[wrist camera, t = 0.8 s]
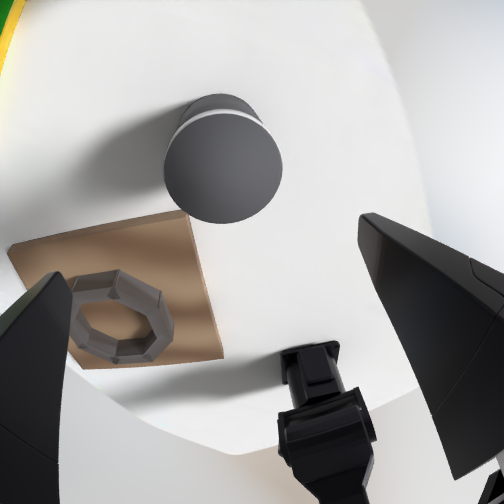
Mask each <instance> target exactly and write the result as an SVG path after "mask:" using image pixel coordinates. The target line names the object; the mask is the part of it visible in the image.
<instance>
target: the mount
mask: <svg viewBox="0 0 504 504" xmlns="http://www.w3.org/2000/svg"><path fill="white" fill-rule="evenodd" d="M7 255H8V257H9V258H10V260H11V262H12V264H13V266H14V268H15V269H16V271H17V273H18V275H19V277H20V278H21V280H22V282H23V283H24V285H25V287H26V289H27V290H29V289H30V288H31V287H32V286H33V285H35V284H36V283H37V282H38V281H39V280H40V279H41V278H43V277H44V276H45V275H46V274H47V273H50V272H54V271H59V272H61V273H62V275H63V277H64V278H65V280H66V282H67V284H68V285H69V287H70V289H71V291H72V294H73V301H72V311H71V322H70V334H69V343H68V351H69V352H70V354H71V355H72V356H73V357H74V359H75V360H76V361H77V363H78V364H79V365H80V366H81V368H82V369H112V368H131V367H146V366H159V365H170V364H181V363H191V362H200V361H208V360H217V359H224V354H223V347H222V343H221V340H220V336H219V333H218V329H217V326H216V322H215V318H214V315H213V311H212V307H211V303H210V300H209V296H208V292H207V288H206V284H205V280H204V277H203V273H202V269H201V265H200V261H199V257H198V253H197V248H196V244H195V240H194V236H193V232H192V228H191V223H190V219H189V215H188V214H187V213H186V212H184V211H183V210H177V211H171V212H166V213H160V214H155V215H149V216H144V217H138V218H133V219H128V220H123V221H118V222H113V223H108V224H103V225H98V226H93V227H88V228H83V229H79V230H74V231H70V232H65V233H60V234H56V235H52V236H47V237H43V238H39V239H34V240H30V241H26V242H22V243H18V244H14V245H12V246H11V248H10V249H9V250H8V252H7Z"/></svg>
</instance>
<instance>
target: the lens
mask: <svg viewBox="0 0 504 504" xmlns="http://www.w3.org/2000/svg"><path fill="white" fill-rule="evenodd" d="M282 165H283V163H282V156H281V152H280V149H279V146H278V144H277V142H276V140H275V139H274V137H273V136H272V134H271V133H270V131H269V130H268V129H267V128H266V127H265V125H263V123H262V122H261V120H260V119H259V117H258V116H257V115H256V113H255V112H254V110H253V109H252V108H251V107H250V106H249V105H248V104H247V103H246V102H245V101H243V100H242V99H240V98H238V97H236V96H232V95H228V94H212V95H208V96H205V97H202V98H200V99H199V100H197V101H195V102H194V103H193V104H192V105H191V106H189V108H188V109H187V110H186V111H185V113H184V114H183V116H182V118H181V121H180V123H179V125H178V127H177V130H176V132H175V134H174V136H173V138H172V139H171V141H170V144H169V146H168V148H167V151H166V154H165V157H164V163H163V175H164V181H165V184H166V187H167V190H168V192H169V194H170V196H171V198H172V199H173V201H174V202H175V203H176V204H177V205H178V206H179V207H180V208H181V209H182V210H183V211H184V212H186V213H187V214H189V215H190V216H192V217H194V218H196V219H199V220H201V221H205V222H209V223H215V224H227V223H234V222H239V221H242V220H245V219H247V218H249V217H251V216H253V215H255V214H256V213H258V212H259V211H260V210H262V209H263V208H264V207H265V206H266V205H267V204H268V203H269V202H270V201H271V199H272V198H273V197H274V195H275V193H276V192H277V189H278V187H279V185H280V181H281V177H282Z"/></svg>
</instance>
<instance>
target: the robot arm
mask: <svg viewBox="0 0 504 504" xmlns="http://www.w3.org/2000/svg"><path fill="white" fill-rule="evenodd" d="M358 246H359V249H360V251H361V254H362V256H363V259H364V261H365V264H366V267H367V269H368V272H369V274H370V277H371V280H372V283H373V285H374V288H375V290H376V292H377V294H378V296H379V298H380V300H381V302H382V304H383V306H384V308H385V310H386V312H387V314H388V316H389V319H390V321H391V323H392V325H393V327H394V329H395V331H396V333H397V335H398V338H399V340H400V342H401V344H402V346H403V349H404V351H405V353H406V355H407V358H408V360H409V362H410V364H411V367H412V369H413V371H414V374H415V376H416V378H417V381H418V383H419V385H420V388H421V390H422V393H423V395H424V398H425V400H426V402H427V405H428V408H429V410H430V413H431V415H432V419H433V421H434V424H435V426H436V429H437V432H438V435H439V437H440V440H441V443H442V446H443V449H444V452H445V454H446V457H447V460H448V463H449V466H450V469H451V473H452V476H453V478H454V480H457V479H459V478H461V477H463V476H465V475H467V474H468V473H470V472H472V471H474V470H475V469H477V468H479V467H481V466H482V465H483V464H485V463H487V462H489V461H490V460H492V459H494V458H495V457H496V458H497V461H498V463H499V466H500V469H499V470H497V471H495V472H494V473H492V474H491V475H489V477H488V480H487V483H486V485H485V488H484V490H483V493H482V495H481V497H480V500H479V502H478V504H504V274H503V273H501V272H499V271H497V270H494V269H493V268H491V267H489V266H487V265H485V264H482V263H481V262H479V261H477V260H475V259H473V258H469V257H468V256H467V255H465V254H463V253H461V252H459V251H457V250H455V249H453V248H451V247H449V246H447V245H444V244H442V243H440V242H438V241H436V240H434V239H432V238H430V237H428V236H425V235H423V234H421V233H419V232H417V231H415V230H412V229H410V228H408V227H406V226H403V225H401V224H399V223H397V222H394V221H392V220H390V219H388V218H385V217H383V216H381V215H378V214H376V213H366V214H361V215H360V217H359V222H358ZM72 301H73V294H72V291H71V289H70V287H69V285H68V284H67V282H66V280H65V278H64V277H63V275H62V273H61V272H59V271H54V272H50V273H47V274H46V275H45V276H44V277H43V278H41V279H40V280H39V281H38V282H37V283H36V284H35V285H33V286H32V287H31V288H30V289H29V290H28V291H27V292H26V293H24V294H23V295H22V296H21V297H20V298H19V299H18V300H17V301H16V302H15V303H14V304H12V305H11V306H10V307H9V308H8V309H7V310H6V311H5V312H4V313H3V314H2V315H1V316H0V504H60V499H59V464H58V455H59V454H58V453H59V452H58V451H59V426H60V411H61V399H62V389H63V380H64V371H65V364H66V357H67V350H68V343H69V334H70V322H71V311H72ZM339 349H340V344H339V342H338V341H335V342H330V343H325V344H320V345H315V346H310V347H305V348H300V349H294V350H289V351H284V352H282V353H281V372H282V383H283V384H288V385H289V389H290V393H291V398H292V402H293V407H294V409H293V410H289V411H286V412H279V413H278V418H279V419H278V420H277V423H278V433H279V445H278V454H279V455H280V456H281V457H283V458H284V460H285V461H286V463H287V465H288V466H289V467H292V470H293V475H294V477H295V478H296V479H297V480H298V481H299V482H300V483H301V484H302V485H303V486H304V487H305V488H306V489H307V490H309V491H310V492H311V493H312V494H313V495H314V496H315V497H316V498H317V499H318V500H319V504H370V503H369V500H368V496H367V492H366V486H367V483H368V480H369V477H370V474H371V471H372V468H373V464H374V454H373V449H372V446H371V443H372V442H374V441H377V438H376V434H375V431H374V427H373V424H372V421H371V418H370V415H369V412H368V410H367V407H366V405H365V402H364V400H363V397H362V395H361V392H360V389H359V387H356V388H353V390H350V391H347V392H346V391H345V388H344V385H343V382H342V380H341V377H340V374H339V371H338V368H337V360H338V355H339Z"/></svg>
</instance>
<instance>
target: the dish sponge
mask: <svg viewBox="0 0 504 504" xmlns="http://www.w3.org/2000/svg"><path fill="white" fill-rule="evenodd" d="M25 2H26V0H0V75H1V71H2V67H3V64H4V60H5V57H6V54H7V51H8V48H9V44H10V41H11V39H12V36H13V33H14V30H15V27H16V25H17V22H18V19H19V17H20V14H21V12H22V9H23V7H24V5H25Z"/></svg>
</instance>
